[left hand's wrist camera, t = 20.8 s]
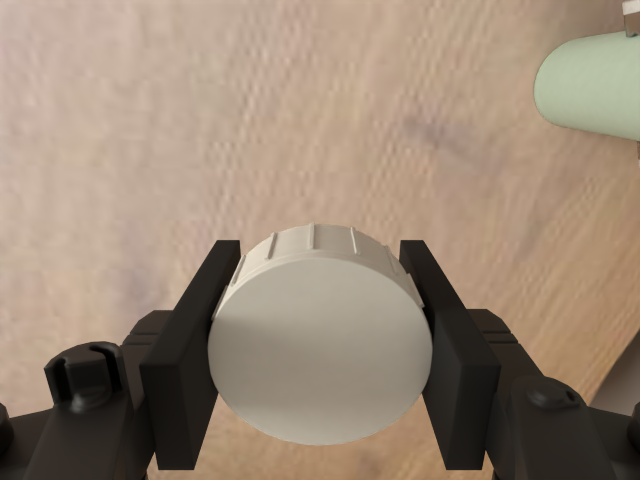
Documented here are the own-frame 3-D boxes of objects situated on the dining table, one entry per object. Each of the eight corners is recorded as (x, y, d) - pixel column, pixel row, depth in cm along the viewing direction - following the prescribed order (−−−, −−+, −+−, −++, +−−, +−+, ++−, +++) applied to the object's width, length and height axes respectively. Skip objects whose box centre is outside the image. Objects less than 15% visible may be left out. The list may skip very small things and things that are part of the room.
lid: (186, 296, 12) (157, 344, 10) (338, 181, 11) (343, 207, 9) (305, 414, 14) (302, 477, 12) (450, 324, 12) (477, 377, 10)
